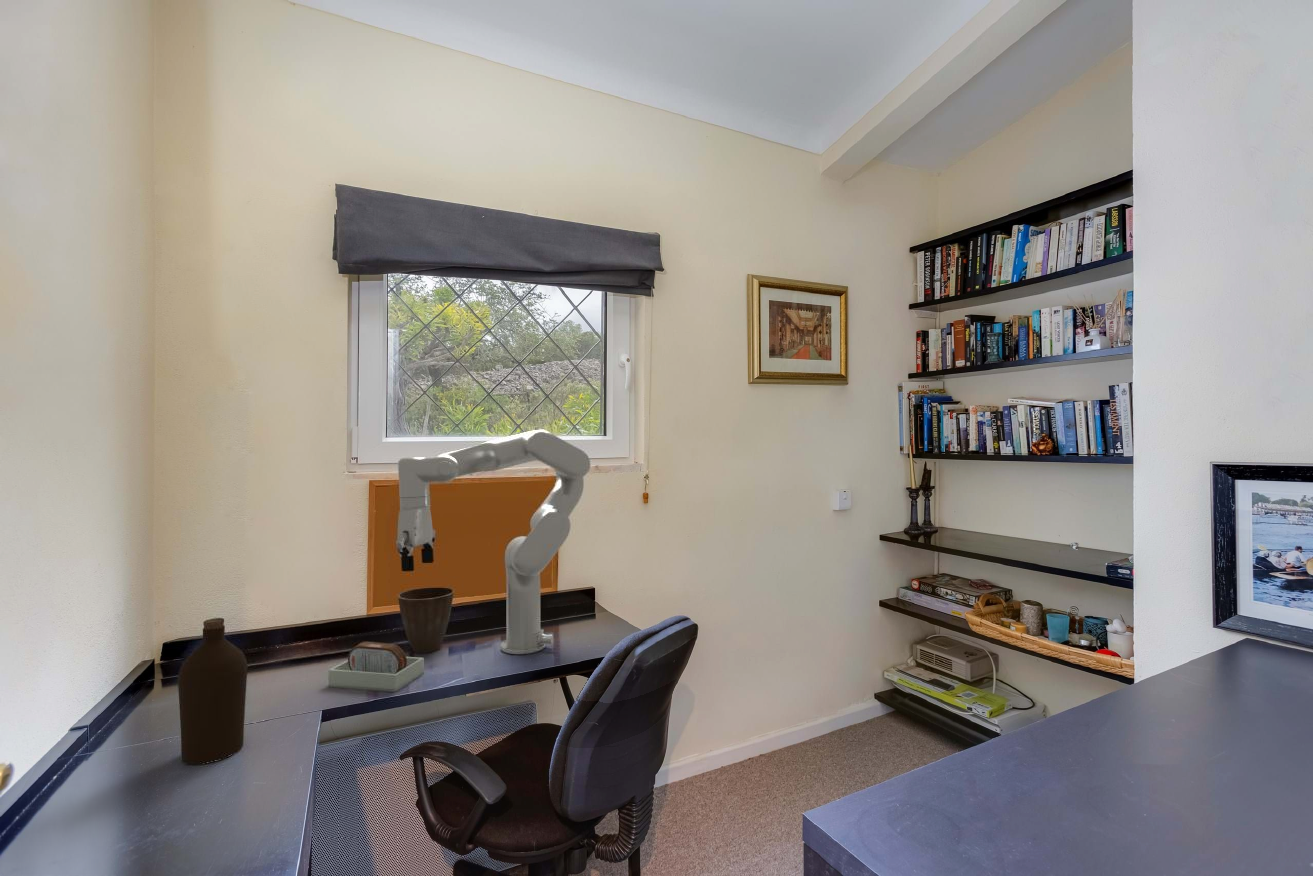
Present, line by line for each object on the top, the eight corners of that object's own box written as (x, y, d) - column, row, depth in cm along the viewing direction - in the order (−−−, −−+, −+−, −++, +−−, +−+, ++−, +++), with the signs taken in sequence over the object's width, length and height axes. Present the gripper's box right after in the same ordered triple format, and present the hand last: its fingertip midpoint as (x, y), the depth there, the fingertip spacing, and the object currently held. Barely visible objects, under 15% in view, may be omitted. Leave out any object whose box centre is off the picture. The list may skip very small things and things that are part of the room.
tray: (423, 673, 152) (423, 658, 152) (395, 692, 141) (395, 675, 141) (360, 669, 156) (360, 653, 156) (328, 686, 144) (328, 670, 144)
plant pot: (385, 654, 167) (385, 596, 167) (425, 638, 181) (425, 584, 181) (427, 661, 161) (427, 601, 162) (464, 644, 175) (464, 589, 175)
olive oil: (204, 771, 107) (205, 630, 107) (163, 762, 110) (163, 625, 110) (260, 743, 117) (260, 614, 117) (220, 735, 120) (221, 610, 121)
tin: (407, 677, 148) (407, 643, 148) (399, 682, 145) (399, 647, 145) (354, 673, 151) (354, 639, 151) (345, 678, 148) (345, 644, 148)
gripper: (419, 499, 170) (422, 560, 170) (382, 507, 153) (386, 574, 153) (444, 499, 169) (447, 559, 169) (410, 506, 151) (413, 574, 152)
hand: (418, 566), depth 161 cm, fingers open, 9 cm apart
